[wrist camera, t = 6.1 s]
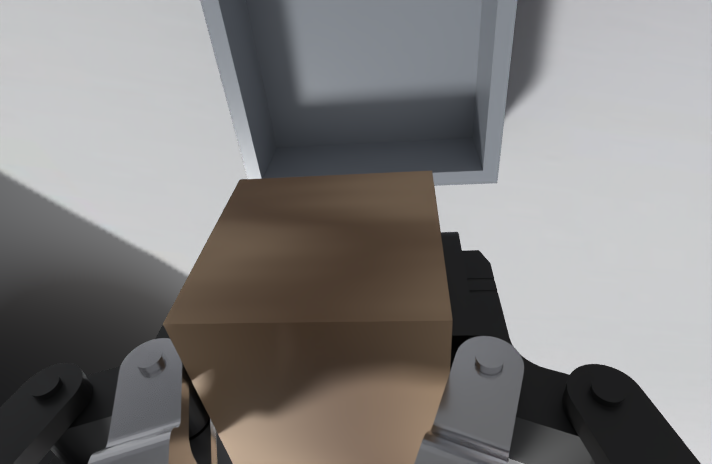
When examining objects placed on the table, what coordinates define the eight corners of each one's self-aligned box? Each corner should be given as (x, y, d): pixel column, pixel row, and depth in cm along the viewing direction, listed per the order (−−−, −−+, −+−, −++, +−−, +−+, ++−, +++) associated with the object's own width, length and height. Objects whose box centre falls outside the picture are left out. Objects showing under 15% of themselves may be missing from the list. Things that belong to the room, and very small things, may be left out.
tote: (270, 152, 30) (251, 193, 26) (187, -221, 19) (134, -250, 15) (482, 141, 28) (497, 182, 24) (517, -268, 18) (552, -313, 14)
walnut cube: (276, 311, 15) (233, 465, 11) (240, 179, 12) (162, 323, 8) (430, 309, 14) (445, 470, 10) (431, 170, 11) (452, 320, 7)
